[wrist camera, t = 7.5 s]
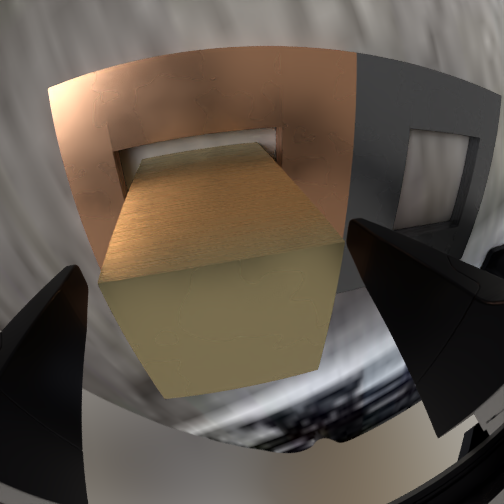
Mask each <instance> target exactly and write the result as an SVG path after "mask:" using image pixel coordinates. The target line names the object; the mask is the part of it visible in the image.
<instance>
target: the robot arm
mask: <svg viewBox="0 0 504 504" xmlns="http://www.w3.org/2000/svg"><path fill="white" fill-rule="evenodd" d="M346 244H347V247H348V250H349V252H350V254H351V256H352V259H353V261H354V263H355V265H356V268H357V270H358V272H359V274H360V277H361V279H362V281H363V283H364V285H365V287H366V288H367V290H368V292H369V294H370V296H371V297H372V299H373V301H374V303H375V305H376V307H377V309H378V310H379V312H380V314H381V316H382V318H383V320H384V322H385V324H386V326H387V327H388V329H389V331H390V333H391V335H392V337H393V339H394V341H395V343H396V345H397V347H398V349H399V351H400V353H401V355H402V357H403V360H404V362H405V364H406V366H407V368H408V370H409V372H410V374H411V377H412V379H413V381H414V383H415V385H416V388H417V390H418V392H419V395H420V397H421V399H422V402H423V404H424V406H425V409H426V410H427V413H428V416H429V418H430V421H431V423H432V425H433V428H434V430H435V433H436V435H437V437H438V438H440V437H441V436H443V435H444V434H446V433H447V432H449V431H450V430H452V429H453V428H455V427H456V426H458V425H459V424H460V423H462V422H463V421H465V420H466V419H467V418H469V417H470V416H472V415H473V414H474V415H475V417H476V419H477V420H478V423H477V424H476V425H475V426H473V427H472V428H471V429H470V430H468V431H467V432H465V434H464V438H463V442H462V446H461V450H460V454H459V458H458V461H457V462H456V463H455V464H453V465H452V466H451V467H449V468H447V469H446V470H445V471H443V472H442V473H440V474H438V475H437V476H435V477H434V478H432V479H431V480H429V481H427V482H426V483H424V484H423V485H421V486H419V487H418V488H416V489H414V490H412V491H410V492H409V493H407V494H405V495H403V496H401V497H400V498H398V499H396V500H394V501H392V502H390V503H388V504H504V245H502V246H500V247H497V248H494V249H492V250H490V252H489V253H488V255H487V258H486V260H485V262H484V264H483V267H482V269H479V268H477V267H474V266H472V265H470V264H467V263H465V262H463V261H461V260H459V259H457V258H454V257H452V256H450V255H448V254H447V255H446V254H445V253H444V252H441V251H439V250H437V249H435V248H433V247H430V246H428V245H426V244H424V243H421V242H419V241H417V240H414V239H412V238H410V237H407V236H405V235H403V234H400V233H398V232H396V231H393V230H391V229H388V228H386V227H383V226H381V225H378V224H376V223H373V222H371V221H368V220H366V219H363V218H355V219H351V220H350V221H349V225H348V231H347V238H346ZM87 307H88V285H87V282H86V280H85V278H84V276H83V274H82V272H81V270H80V268H79V267H78V266H77V265H70V266H66V267H65V268H64V269H63V270H62V271H61V272H59V273H58V274H57V275H56V276H55V277H54V278H53V279H52V280H51V281H50V282H49V283H48V284H47V285H46V286H45V287H44V288H43V289H41V290H40V291H39V292H38V293H37V294H36V295H35V296H34V297H33V298H32V299H31V300H30V301H29V302H28V303H27V304H26V305H25V307H24V308H23V309H22V310H21V311H20V312H19V313H18V314H17V315H16V316H15V317H14V318H13V319H12V320H11V321H10V322H9V324H8V325H7V326H6V327H5V328H4V329H3V330H2V332H0V504H88V499H87V493H86V483H85V474H84V462H83V451H82V412H81V411H82V380H83V364H84V352H85V342H86V332H87Z"/></svg>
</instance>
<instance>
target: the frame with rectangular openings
mask: <svg viewBox="0 0 504 504" xmlns="http://www.w3.org/2000/svg"><path fill="white" fill-rule="evenodd" d="M48 92H49V98H50V104H51V110H52V115H53V120H54V125H55V130H56V134H57V139H58V143H59V147H60V151H61V155H62V159H63V163H64V167H65V170H66V174H67V177H68V181H69V184H70V188H71V191H72V194H73V197H74V200H75V203H76V206H77V209H78V212H79V215H80V218H81V221H82V224H83V226H84V229H85V232H86V234H87V237H88V240H89V242H90V245H91V247H92V250H93V252H94V255H95V257H96V260H97V262H98V264H99V267H100V269H101V270H102V266H103V263H104V260H105V256H106V253H107V250H108V247H109V244H110V241H111V238H112V235H113V232H114V229H115V226H116V223H117V221H118V218H119V215H120V212H121V210H122V207H123V204H124V202H125V199H126V197H127V194H128V191H127V187H126V183H125V179H124V175H123V170H122V166H121V161H120V157H119V152H118V150H122V149H127V148H131V147H136V146H140V145H145V144H150V143H155V142H160V141H166V140H171V139H177V138H183V137H190V136H196V135H203V134H210V133H218V132H226V131H235V130H245V129H256V128H269V127H276V163H277V164H278V165H279V166H280V167H281V168H282V169H283V170H284V172H285V173H286V174H287V175H288V176H289V177H290V178H291V179H292V180H293V181H294V183H295V184H296V185H297V186H298V187H299V188H300V189H301V190H302V191H303V193H304V194H305V195H306V196H307V197H308V198H309V199H310V201H311V202H312V203H313V204H314V205H315V206H316V207H317V209H318V210H319V211H320V212H321V213H322V214H323V216H324V217H325V218H326V219H327V220H328V221H329V223H330V224H331V225H332V226H333V227H334V229H335V230H336V231H337V232H338V233H339V235H340V236H341V237H342V238H343V240H344V241H345V246H344V252H343V257H342V263H341V269H340V274H339V280H338V285H337V290H336V294H337V293H341V292H345V291H349V290H353V289H357V288H361V287H365V285H364V283H363V281H362V279H361V277H360V274H359V272H358V270H357V268H356V265H355V263H354V261H353V259H352V256H351V254H350V252H349V250H348V247H347V244H346V238H347V231H348V225H349V221H350V220H351V219H355V218H363V219H366V220H368V221H371V222H373V223H376V224H378V225H381V226H383V227H386V228H388V229H391V230H393V225H394V221H395V217H396V212H397V207H398V202H399V197H400V192H401V187H402V181H403V176H404V170H405V163H406V157H407V150H408V142H409V134H410V128H412V129H422V130H431V131H440V132H447V133H454V134H461V135H467V136H470V140H469V146H468V151H467V156H466V161H465V166H464V171H463V175H462V180H461V184H460V188H459V192H458V196H457V200H456V203H455V207H454V210H453V214H452V217H451V220H450V221H446V222H440V223H434V224H429V225H423V226H417V227H411V228H406V229H400V230H394V231H396V232H398V233H400V234H403V235H405V236H407V237H410V238H412V239H414V240H417V241H419V242H421V243H424V244H426V245H428V246H430V247H433V248H435V249H437V250H439V251H441V252H444V253H445V254H446V255H447V254H448V255H450V256H452V257H454V258H457V259H461V258H462V255H463V253H464V250H465V248H466V245H467V243H468V240H469V237H470V235H471V232H472V229H473V226H474V223H475V220H476V217H477V214H478V211H479V208H480V204H481V201H482V197H483V194H484V190H485V187H486V183H487V179H488V175H489V171H490V166H491V162H492V157H493V152H494V147H495V142H496V136H497V129H498V123H499V115H500V106H501V95H499V94H496V93H494V92H492V91H490V90H487V89H485V88H483V87H480V86H478V85H475V84H473V83H470V82H467V81H465V80H462V79H459V78H457V77H454V76H451V75H448V74H445V73H442V72H438V71H435V70H432V69H428V68H425V67H421V66H418V65H414V64H410V63H406V62H402V61H398V60H393V59H388V58H383V57H378V56H373V55H367V54H361V53H355V52H348V51H340V50H331V49H321V48H308V47H287V46H249V47H228V48H215V49H205V50H196V51H188V52H181V53H174V54H168V55H162V56H157V57H152V58H147V59H142V60H138V61H133V62H129V63H125V64H121V65H117V66H113V67H110V68H106V69H103V70H99V71H96V72H93V73H89V74H86V75H83V76H80V77H77V78H74V79H72V80H69V81H66V82H63V83H61V84H58V85H56V86H53V87H51V88H48Z"/></svg>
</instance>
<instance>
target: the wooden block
mask: <svg viewBox="0 0 504 504" xmlns="http://www.w3.org/2000/svg"><path fill="white" fill-rule="evenodd" d="M344 246H345V241H344V240H343V238H342V237H341V236H340V235H339V233H338V232H337V231H336V230H335V229H334V227H333V226H332V225H331V224H330V223H329V221H328V220H327V219H326V218H325V217H324V216H323V214H322V213H321V212H320V211H319V210H318V209H317V207H316V206H315V205H314V204H313V203H312V202H311V201H310V199H309V198H308V197H307V196H306V195H305V194H304V193H303V191H302V190H301V189H300V188H299V187H298V186H297V185H296V184H295V183H294V181H293V180H292V179H291V178H290V177H289V176H288V175H287V174H286V173H285V172H284V170H283V169H282V168H281V167H280V166H279V165H278V164H277V163H276V162H275V161H274V160H273V159H272V158H271V157H270V156H269V154H268V153H267V152H266V151H265V150H264V149H263V148H262V147H261V146H260V145H259V144H258V143H257V142H255V143H245V144H236V145H227V146H219V147H212V148H205V149H198V150H191V151H185V152H179V153H173V154H168V155H162V156H157V157H152V158H147V159H142V161H141V163H140V166H139V168H138V170H137V172H136V175H135V177H134V180H133V182H132V184H131V187H130V189H129V192H128V194H127V197H126V199H125V202H124V204H123V207H122V210H121V212H120V215H119V218H118V221H117V223H116V226H115V229H114V232H113V235H112V238H111V241H110V244H109V247H108V250H107V253H106V256H105V260H104V263H103V266H102V270H101V273H100V277H99V280H98V285H99V288H100V290H101V292H102V294H103V296H104V298H105V300H106V302H107V304H108V306H109V308H110V310H111V311H112V313H113V315H114V317H115V319H116V321H117V323H118V325H119V326H120V328H121V330H122V332H123V334H124V335H125V337H126V339H127V341H128V342H129V344H130V346H131V347H132V349H133V351H134V352H135V354H136V356H137V357H138V359H139V361H140V362H141V364H142V365H143V367H144V369H145V370H146V372H147V373H148V375H149V376H150V378H151V379H152V381H153V382H154V384H155V385H156V387H157V388H158V390H159V391H160V393H161V394H162V396H163V397H164V399H169V398H178V397H186V396H194V395H201V394H208V393H214V392H220V391H226V390H232V389H237V388H242V387H247V386H252V385H257V384H262V383H266V382H271V381H275V380H280V379H284V378H288V377H292V376H296V375H300V374H303V373H307V372H311V371H314V370H318V367H319V364H320V360H321V356H322V352H323V348H324V344H325V340H326V336H327V331H328V327H329V323H330V318H331V314H332V309H333V304H334V300H335V295H336V290H337V285H338V280H339V274H340V269H341V263H342V257H343V252H344Z"/></svg>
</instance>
